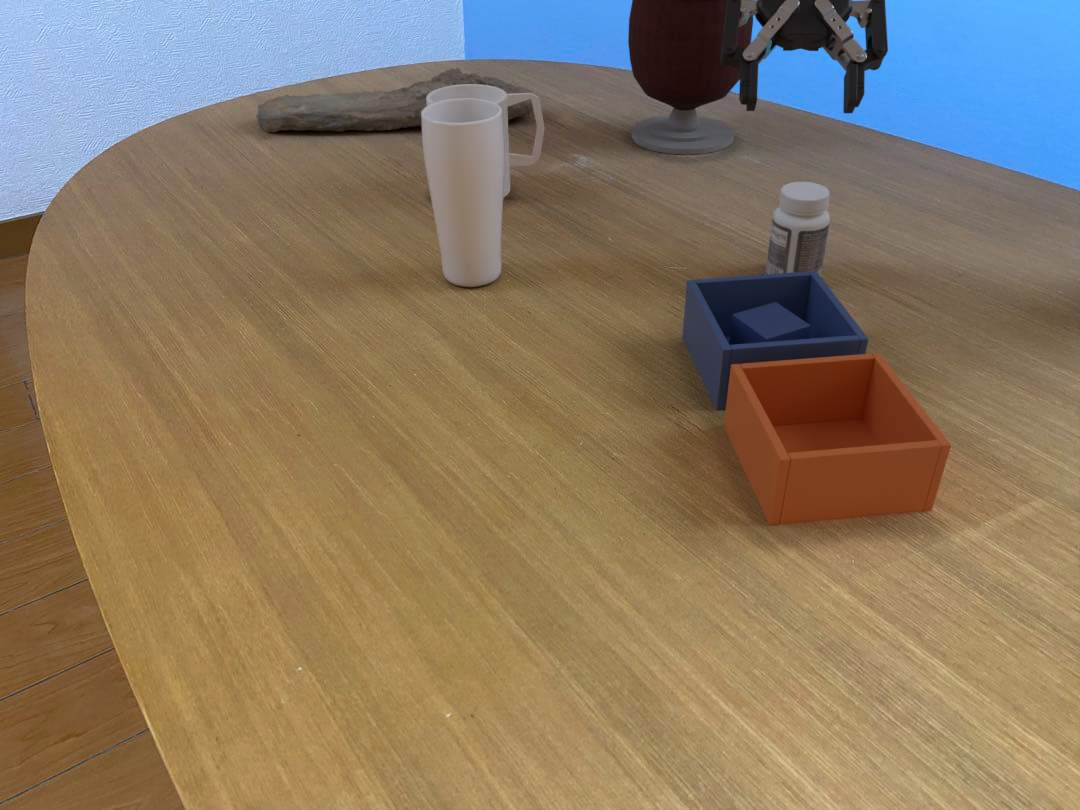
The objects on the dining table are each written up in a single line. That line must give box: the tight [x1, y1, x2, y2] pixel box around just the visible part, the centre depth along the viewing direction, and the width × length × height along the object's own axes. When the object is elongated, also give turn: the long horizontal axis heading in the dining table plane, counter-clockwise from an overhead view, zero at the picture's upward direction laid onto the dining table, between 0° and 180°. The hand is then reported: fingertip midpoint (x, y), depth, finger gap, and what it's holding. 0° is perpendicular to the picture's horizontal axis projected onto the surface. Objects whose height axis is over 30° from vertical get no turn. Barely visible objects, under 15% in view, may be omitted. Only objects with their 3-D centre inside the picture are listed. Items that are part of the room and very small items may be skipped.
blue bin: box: [681, 271, 869, 411], centre depth 69 cm, size 10×10×6 cm
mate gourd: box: [627, 0, 754, 156], centre depth 108 cm, size 16×14×20 cm
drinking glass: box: [420, 98, 505, 288], centre depth 80 cm, size 7×7×15 cm
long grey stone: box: [255, 67, 534, 133], centre depth 119 cm, size 35×5×10 cm
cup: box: [426, 84, 546, 198], centre depth 98 cm, size 8×12×10 cm
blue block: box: [729, 302, 810, 345], centre depth 69 cm, size 4×4×4 cm
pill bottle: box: [765, 181, 831, 278], centre depth 80 cm, size 5×5×8 cm
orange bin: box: [723, 352, 952, 527], centre depth 60 cm, size 10×10×6 cm
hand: (800, 108), depth 83 cm, fingers open, 8 cm apart
